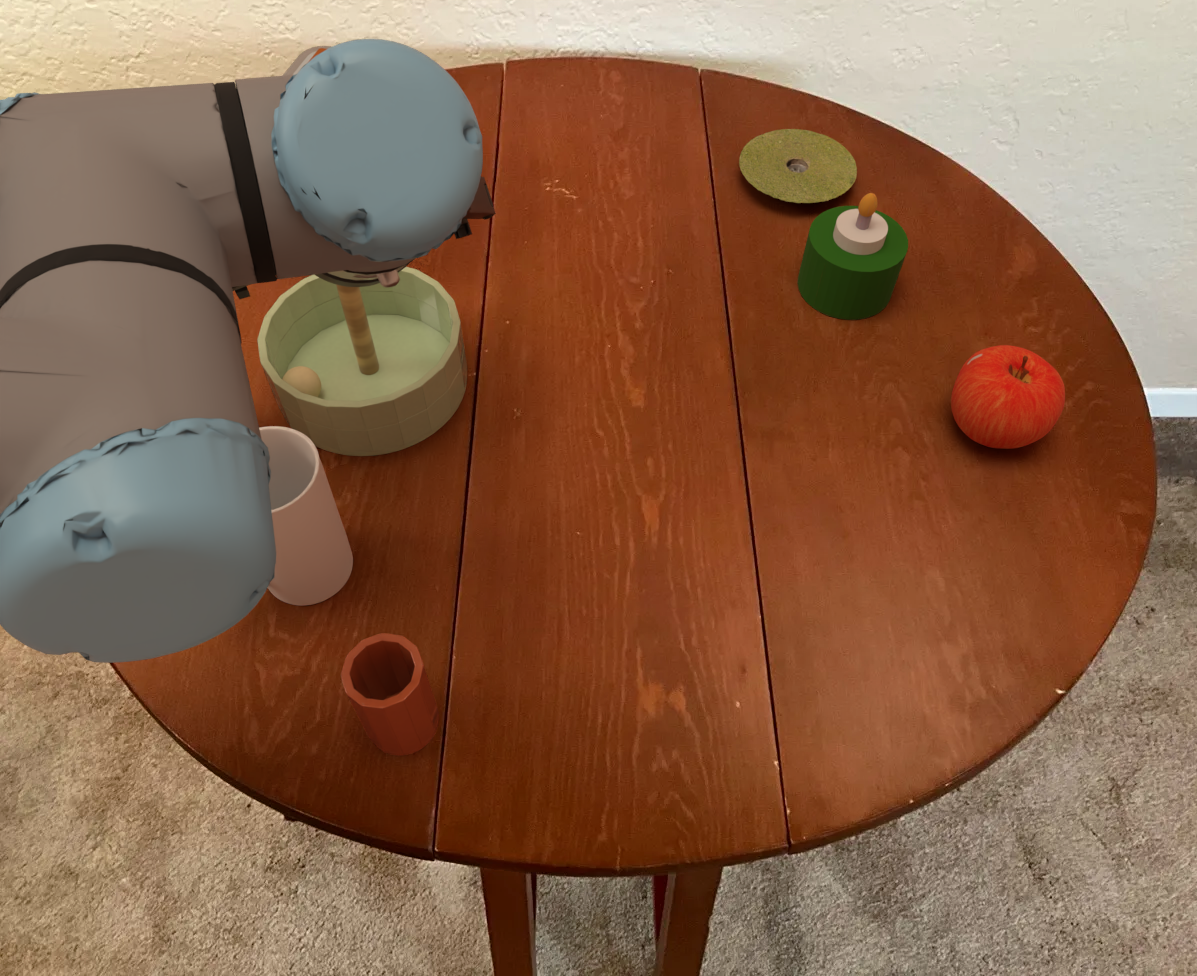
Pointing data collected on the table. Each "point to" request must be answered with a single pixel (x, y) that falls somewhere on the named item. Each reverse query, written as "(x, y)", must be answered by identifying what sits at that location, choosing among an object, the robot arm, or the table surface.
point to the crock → (391, 693)
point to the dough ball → (303, 380)
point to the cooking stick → (358, 329)
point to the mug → (304, 522)
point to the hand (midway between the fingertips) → (333, 251)
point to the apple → (1007, 397)
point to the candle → (852, 260)
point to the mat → (798, 166)
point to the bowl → (348, 397)
